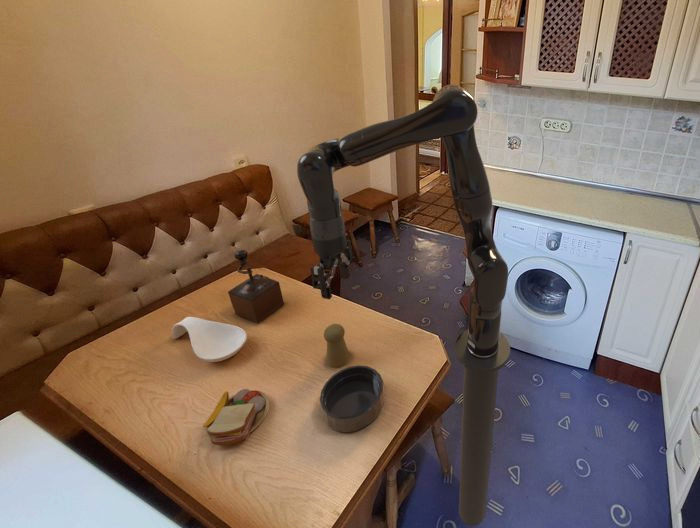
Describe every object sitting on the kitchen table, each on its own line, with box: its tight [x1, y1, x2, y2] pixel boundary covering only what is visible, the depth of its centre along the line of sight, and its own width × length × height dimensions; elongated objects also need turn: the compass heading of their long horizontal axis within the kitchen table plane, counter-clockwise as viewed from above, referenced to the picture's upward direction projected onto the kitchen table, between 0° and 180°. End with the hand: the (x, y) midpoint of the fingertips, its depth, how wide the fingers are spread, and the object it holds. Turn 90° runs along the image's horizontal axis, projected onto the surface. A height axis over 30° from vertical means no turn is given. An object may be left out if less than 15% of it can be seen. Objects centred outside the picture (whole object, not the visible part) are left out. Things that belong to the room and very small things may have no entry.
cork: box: [323, 323, 351, 369], centre depth 96 cm, size 6×6×11 cm
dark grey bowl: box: [319, 364, 385, 433], centre depth 85 cm, size 14×14×5 cm
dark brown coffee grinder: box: [227, 249, 285, 325], centre depth 112 cm, size 16×11×18 cm
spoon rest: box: [171, 316, 248, 363], centre depth 99 cm, size 24×12×7 cm, turn 71°
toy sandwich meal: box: [202, 388, 270, 446], centre depth 81 cm, size 12×14×5 cm
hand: (336, 287), depth 90 cm, fingers open, 8 cm apart
